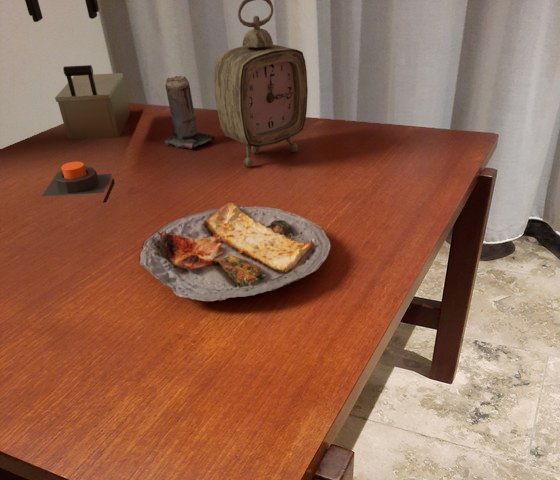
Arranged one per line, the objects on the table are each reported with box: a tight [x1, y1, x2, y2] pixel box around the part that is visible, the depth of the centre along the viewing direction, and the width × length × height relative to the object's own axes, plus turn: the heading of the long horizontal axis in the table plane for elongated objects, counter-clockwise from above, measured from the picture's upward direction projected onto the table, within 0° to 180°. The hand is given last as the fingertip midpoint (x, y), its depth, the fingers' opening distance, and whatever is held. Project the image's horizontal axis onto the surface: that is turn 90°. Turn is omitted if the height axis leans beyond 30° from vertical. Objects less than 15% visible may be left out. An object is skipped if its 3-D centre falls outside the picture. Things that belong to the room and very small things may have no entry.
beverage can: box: [164, 75, 216, 150], centre depth 106 cm, size 9×8×12 cm
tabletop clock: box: [213, 0, 309, 168], centre depth 95 cm, size 14×9×25 cm, turn 129°
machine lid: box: [54, 64, 124, 103], centre depth 108 cm, size 16×10×5 cm, turn 3°
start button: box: [61, 161, 87, 179], centre depth 90 cm, size 4×4×2 cm
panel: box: [41, 165, 115, 204], centre depth 92 cm, size 10×8×4 cm
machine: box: [57, 77, 131, 141], centre depth 113 cm, size 16×10×9 cm, turn 3°
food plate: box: [138, 200, 331, 302], centre depth 73 cm, size 25×23×4 cm
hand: (66, 18), depth 96 cm, fingers open, 9 cm apart
